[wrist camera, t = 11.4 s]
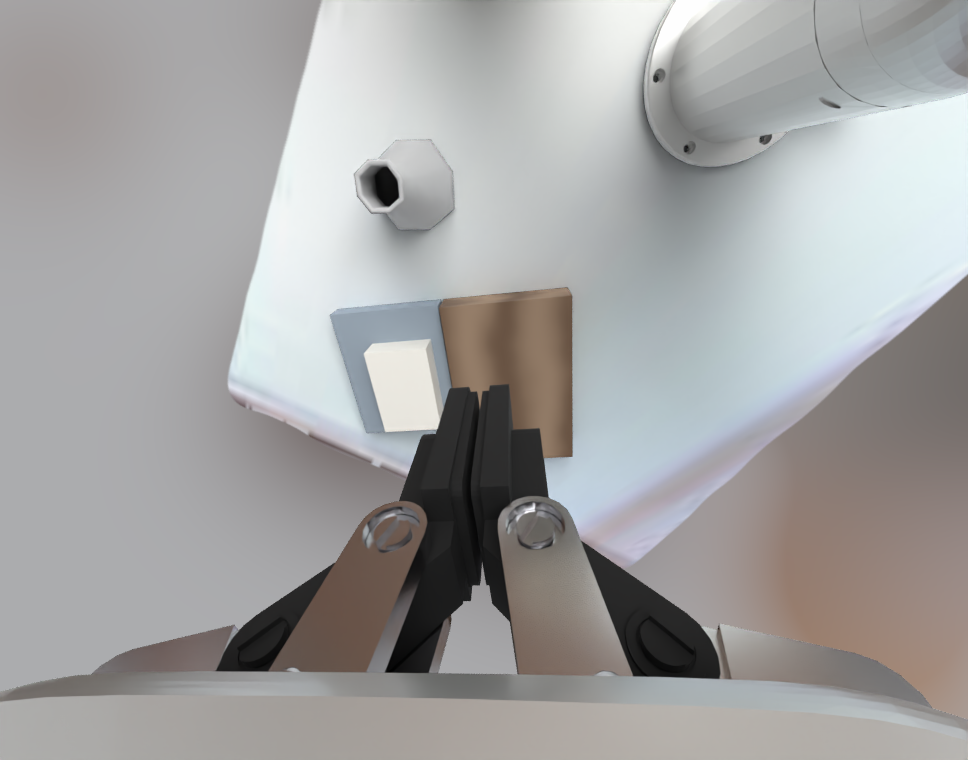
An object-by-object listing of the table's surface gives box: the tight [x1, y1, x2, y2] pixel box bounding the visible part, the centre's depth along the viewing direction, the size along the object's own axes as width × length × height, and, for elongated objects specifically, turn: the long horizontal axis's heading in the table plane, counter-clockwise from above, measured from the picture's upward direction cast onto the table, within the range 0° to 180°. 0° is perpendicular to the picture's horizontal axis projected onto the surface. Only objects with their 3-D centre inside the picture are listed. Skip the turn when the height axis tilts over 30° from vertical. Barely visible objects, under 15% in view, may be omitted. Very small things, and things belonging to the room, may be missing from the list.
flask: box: [354, 139, 454, 230], centre depth 28 cm, size 7×7×10 cm
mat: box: [330, 299, 453, 433], centre depth 39 cm, size 11×14×2 cm
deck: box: [439, 288, 572, 458], centre depth 39 cm, size 12×18×3 cm, turn 6°
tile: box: [364, 339, 444, 432], centre depth 38 cm, size 6×9×2 cm, turn 6°
